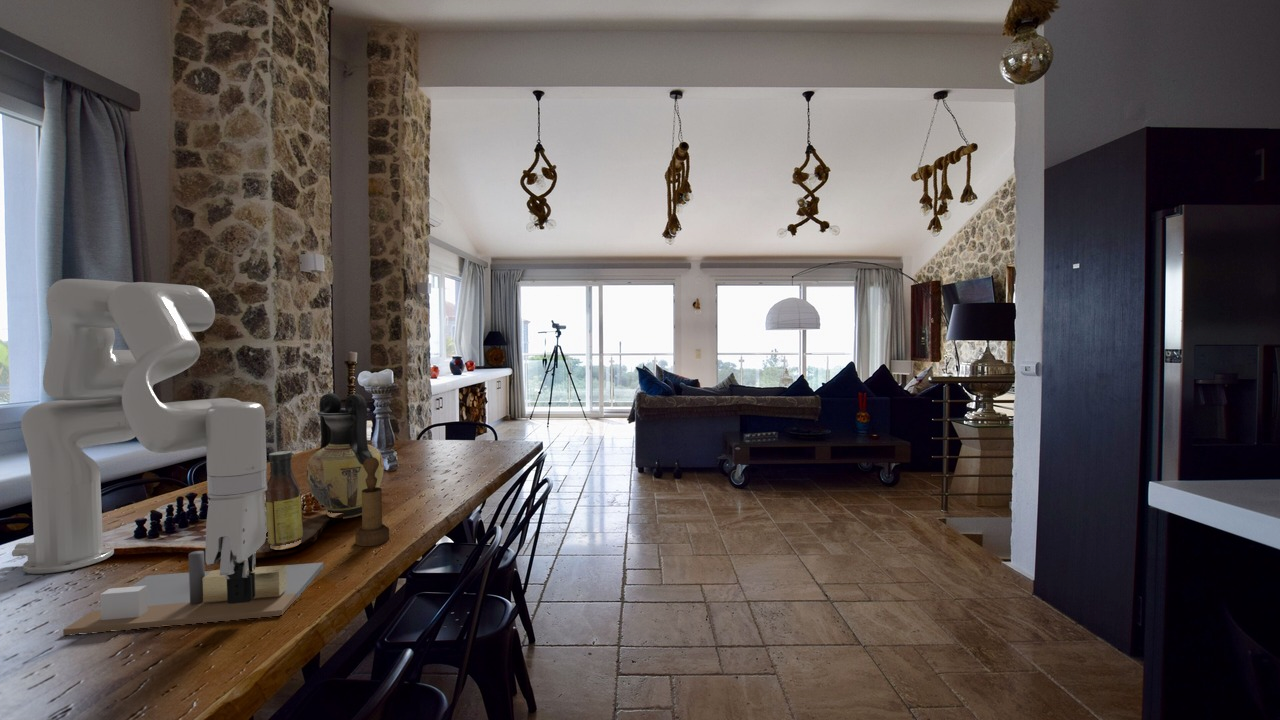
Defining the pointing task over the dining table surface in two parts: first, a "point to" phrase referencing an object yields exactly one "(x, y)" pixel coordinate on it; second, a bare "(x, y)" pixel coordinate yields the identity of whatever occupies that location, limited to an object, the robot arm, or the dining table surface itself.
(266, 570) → the bar
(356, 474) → the amphora
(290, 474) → the sauce bottle
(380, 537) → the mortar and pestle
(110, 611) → the plate
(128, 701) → the dining table surface
